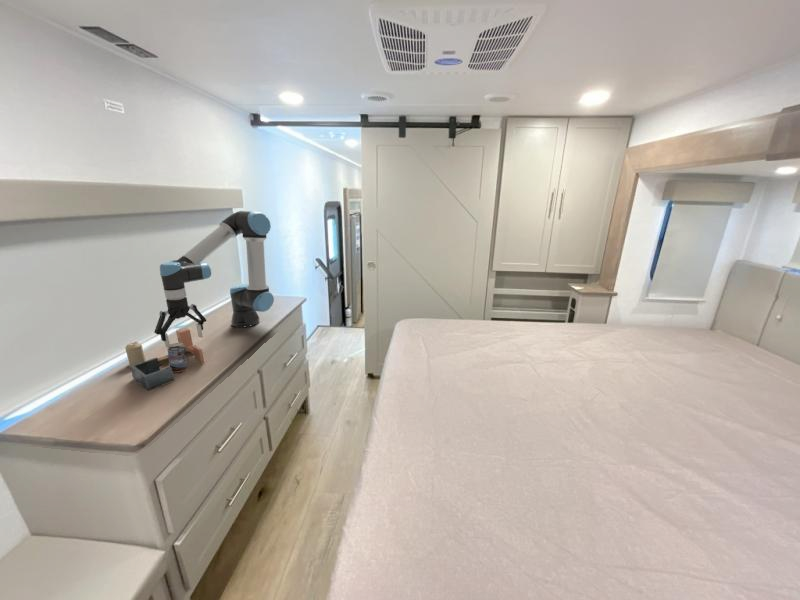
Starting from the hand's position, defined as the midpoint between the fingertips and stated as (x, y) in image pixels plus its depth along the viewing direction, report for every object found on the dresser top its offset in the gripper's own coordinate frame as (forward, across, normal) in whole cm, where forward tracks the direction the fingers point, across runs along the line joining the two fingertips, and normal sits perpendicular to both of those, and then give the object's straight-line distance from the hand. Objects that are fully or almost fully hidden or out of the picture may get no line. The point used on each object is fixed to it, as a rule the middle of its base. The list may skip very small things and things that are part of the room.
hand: (184, 341), depth 143 cm
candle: (+8, +16, -10) cm, 20 cm away
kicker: (+7, 0, +6) cm, 9 cm away
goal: (+7, +17, +11) cm, 21 cm away
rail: (+7, +6, 0) cm, 9 cm away
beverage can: (+8, +8, +11) cm, 15 cm away
